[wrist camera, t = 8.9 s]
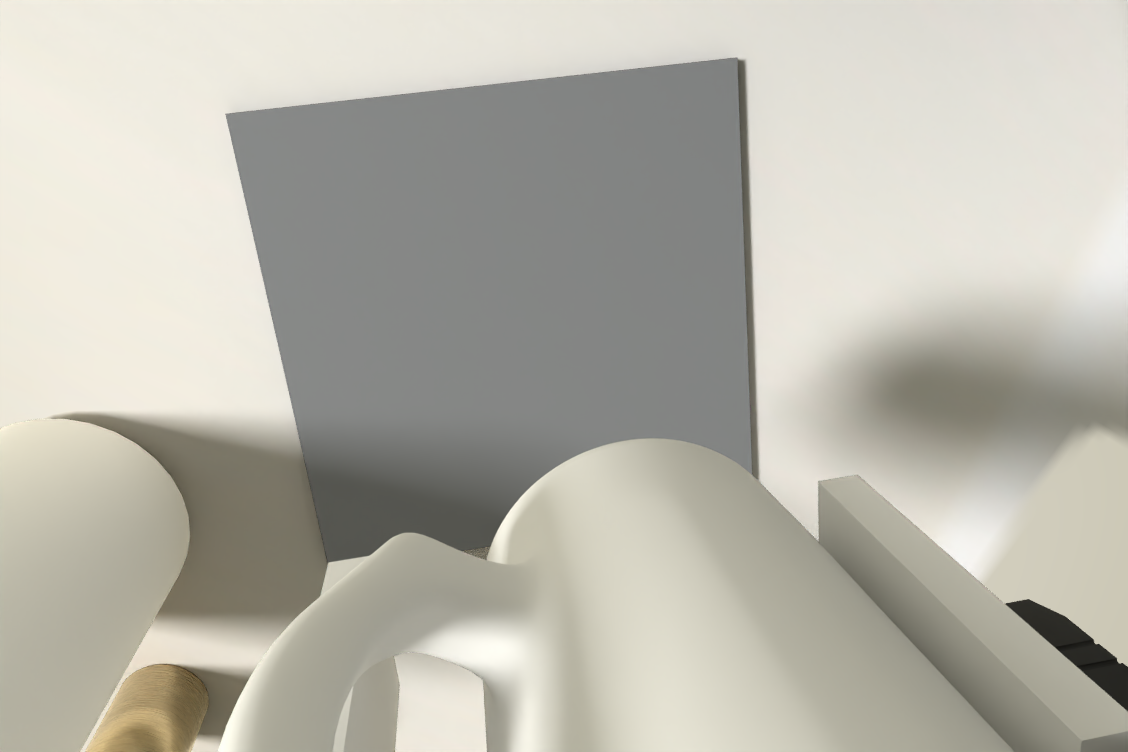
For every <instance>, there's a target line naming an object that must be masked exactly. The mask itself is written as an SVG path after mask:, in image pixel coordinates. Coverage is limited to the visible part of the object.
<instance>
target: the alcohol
mask: <svg viewBox="0 0 1128 752" xmlns="http://www.w3.org/2000/svg"><path fill="white" fill-rule="evenodd" d="M189 540H190V528H189V516H188V513H187V510H186V506H185V503H184V500H183V497H182V495H181V493H180V491H179V489H178V488H177V486H176V484H175V482H174V481H173V479H172V477H171V476H170V475H169V474H168V472H167V471H166V470H165V469H164V468H163V467H162V466H161V464H160V463H159V462H158V461H157V460H156V459H155V458H154V457H153V456H151V455H150V454H149V453H148V452H146V451H145V450H144V449H143V448H141V447H140V446H139V445H138V444H136V443H134V442H132V441H131V440H129V439H127V438H125V437H123V436H122V435H120V434H118V433H116V432H114V431H111V430H108V429H105V428H102V427H100V426H97V425H94V424H91V423H86V422H80V421H74V420H69V419H35V420H29V421H23V422H17V423H13V424H10V425H7V426H5V427H2V428H0V752H80V751H81V749H82V747H83V745H84V744H85V742H86V740H87V738H88V736H89V735H90V733H91V731H92V729H93V728H94V726H95V724H96V722H97V720H98V719H99V717H100V715H101V713H102V711H103V710H104V708H105V706H106V704H107V703H108V701H109V699H110V697H111V695H112V694H113V692H114V690H115V688H116V686H117V685H118V683H119V681H120V679H121V678H122V676H123V674H124V672H125V670H126V669H127V667H128V665H129V663H130V662H131V660H132V658H133V656H134V654H135V653H136V651H137V649H138V647H139V645H140V644H141V642H142V640H143V638H144V637H145V635H146V633H147V631H148V629H149V628H150V626H151V624H152V622H153V620H154V619H155V617H156V615H157V613H158V612H159V610H160V608H161V606H162V604H163V603H164V601H165V599H166V597H167V596H168V594H169V592H170V590H171V588H172V587H173V585H174V583H175V581H176V579H177V578H178V576H179V574H180V572H181V569H182V567H183V564H184V562H185V560H186V557H187V553H188V547H189Z"/></svg>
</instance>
